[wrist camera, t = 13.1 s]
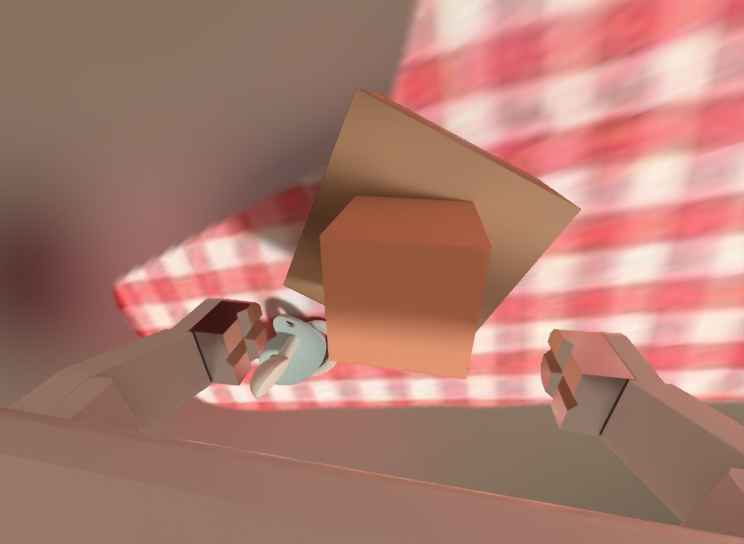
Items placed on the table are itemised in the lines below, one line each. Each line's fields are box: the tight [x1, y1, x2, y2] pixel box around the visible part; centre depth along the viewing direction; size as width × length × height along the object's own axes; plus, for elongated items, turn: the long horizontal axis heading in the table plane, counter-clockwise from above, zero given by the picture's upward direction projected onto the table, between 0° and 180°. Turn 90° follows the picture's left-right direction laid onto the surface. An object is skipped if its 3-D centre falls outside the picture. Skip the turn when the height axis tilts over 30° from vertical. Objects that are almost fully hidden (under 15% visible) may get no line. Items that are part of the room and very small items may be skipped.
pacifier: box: [250, 314, 337, 398], centre depth 24 cm, size 7×6×6 cm
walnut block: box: [283, 89, 581, 333], centre depth 17 cm, size 10×10×6 cm
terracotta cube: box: [320, 196, 492, 379], centre depth 12 cm, size 5×5×5 cm
